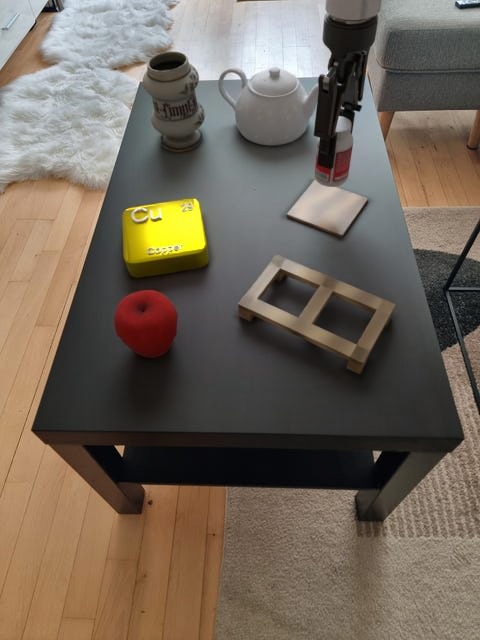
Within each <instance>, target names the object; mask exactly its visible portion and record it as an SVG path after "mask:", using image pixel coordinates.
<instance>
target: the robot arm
mask: <svg viewBox="0 0 480 640" xmlns="http://www.w3.org/2000/svg"><path fill="white" fill-rule="evenodd" d="M382 2H383V0H325V5H324V6H325V7H324V8H325V14H324V16H323V26H322V38H321V39H322V43H323V45H324V46H325V47H326V48H327V49H328V50H329V51H330V57H329V59H328V63H327V73H326V74H324V73H320V74H319V75H318V78H317V84H318V88H319V92H318V101H317V105H316V108H315V119H314V127H313V136H314V137H316V138H318V137H319V138H320V142H319V152H318V163H317V165H319V166H322V167H325V168H328V169H332V168H333V165H334V157H335V149H336V141H337V134H336V133H335V131H336V127H337V122H338V118H339V116H342V117H346V118H348V119H349V120H350V121H351V132H350V133H351V134H352V135H353V131H354V125H355V117H356V112H357V113H360V112H361V110H362V109H363V104H359V102H360V103H361V102H362V101H363V96H364V90H365V83H366V76H367V69H368V60H369V55H370V50H371V47H372V46H373V45H374V43H375V41H376V36H377V31H378V24H379V14H380V12H381V10H382Z"/></svg>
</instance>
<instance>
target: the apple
mask: <svg viewBox="0 0 480 640" xmlns="http://www.w3.org/2000/svg"><path fill="white" fill-rule="evenodd" d="M113 316H114V317H113V325H114V329H115V334H116V336H118V338H119V339H120V340H121V341H122V342H123V343H124V344H125V345H126V346H127V347H128V348H129V349H130V350H132V351H133V352H134V353H136V354H137V355H139V356H140V357H141V356H142V357H145V358H157V357H160V356H163V355H165V354H166V353H167V352H168V351H169V350H170V349H171V347H172V345H173V343H174V341H175V338H176V337H177V330H178V319H179V318H178V317H179V316H178V312H177V308H176V306H175V305H174V304H173V302H172V301H171V300H170V299H169V298H168V297H167V296H166V295H165V294H164V293H162V292H159V291H156V290H154V289H147V290H146V289H145V290H139V291H135V292H131V293H130V294H128V295H126V296H125V297H124V298H122V299H121V300H120V301H119V303H118V305H117V306H116V308H115V312H114V315H113Z"/></svg>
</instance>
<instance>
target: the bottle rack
mask: <svg viewBox="0 0 480 640" xmlns="http://www.w3.org/2000/svg"><path fill="white" fill-rule="evenodd" d="M284 276H286V277H289V278H291V279H293V280H296V281H298V282H301V283H303V284H305V285H308V286H310V287H312V288H314V289H317V290H316V291H315V292H314V294H313V295H312V297H311V298H310V300H309V301H308V303H307V304H306V305H305V307H304V309H303V310H302V312H301V313H300V314H299V316H296V315H294V314H292V313H290V312H287V311H285V310H284V309H283V310H282V309H280V308H278V307H276V306H274V305H272V304H270V303H267V302H265V301H263V300H261V299H262V298H263V296H264V295H265V294H266V293H267V291H268V290H269V288H270V287H271V286H272V284H273V283H274V282H275V281H277V282H281V281H282V280H283V278H284ZM332 297H336V298H337V299H340V300H342V301H345V302H347V303H349V304H351V305H354V306H356V307H359V308H360V309H363V310H366V311H367V312H370V313H373V316H372V317H371V319H370V321H369V323H368V324H367V326H366V328H365V329H364V331H363V332H362V335H361V336H360V338H359V340H358V342H357V343H354V342H352V341H350V340H348V339H345V338H343V337H341V336H339V335H337V334H335V333H332V332H330V331H328V330H326V329H324V328H321V327H320V326H318V325H315V323H316V321H317V320H318V318H319V317H320V315H321V314H322V312H323V311H324V309H325V308H326V306H327V305H328V303H329V302H330V300H331V298H332ZM237 305H238V317H240V318H242V319H244V320H246V321H248V322H251V321H252V320H253V318H254V317H256V318H259V319H261V320H262V321H265V322H267V323H269V324H270V325H273V326H276V327H277V328H279V329H282V330H284V331H286V332H288V333H290V334H292V335H294V336H296V337H298V338H300V339H301V340H302V339H303V340H304V341H306V342H308V343H311V344H313V345H315V346H317V347H319V348H322V349H323V350H325V351H328V352H330V353H332V354H334V355H336V356H338V357H340V358H341V359H345V360H347V366H346V369H348V370H350V371H351V372H354V373H356V374H358V375H361V373H362V372H363V370H364V368H365V366H366V364H367V362H368V359H369V356H370V354H371V352H372V350H373V348H374V347H375V345H376V344H377V341H378V339H379V338H380V336H381V334H382V332H383V330H384V329H385V328H387V326H388V325H389V323H390V321H391V319H392V318H393V314H394V311H395V309H396V306H397V304H396V303H393V302H391V301H389V300H386V299H384V298H381V297H379V296H376V295H374V294H372V293H370V292H367V291H365V290H362V289H360V288H357V287H355V286H353V285H350V284H348V283H346V282H343V281H341V280H338V279H336V278H334V277H331V276H329V275H327V274H324V273H321V272H319V271H317V270H315V269H312V268H310V267H307V266H305V265H302V264H300V263H298V262H296V261H293V260H290V259H288V258H285V257H283V256H281V255H279V254H275V256H274V257H273V258H272V260H271V261H270V262H269V264H267V266H266V267H265V269H264V270H263V272H261V274H260V275H259V276H258V277H257V279H256V280H255V282H254V283H253V284H252V285H251V287H250V288H249V289H248V290H247V292H246V293H245V294H244V295H243V297H242V298H241V300H240V301H239V302H238V303H237Z"/></svg>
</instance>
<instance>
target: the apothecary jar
mask: <svg viewBox="0 0 480 640" xmlns="http://www.w3.org/2000/svg"><path fill="white" fill-rule="evenodd" d="M146 68H147V69H146V71H145V72H144V74H143V77H142V86H143V89H144V90H145V92H146V93H147V94H148V95H149V96H150V97H151V100H152V105H153V110H152V112H151V114H150V122H151V125H152V127H153V128H154V129H155V131H156V132H158V133H159V134H161V136H160V139H161V142H160V144H161V146H162V147H163V148H164V149H165V150H168V151H171V152H174V153H175V152H176V153H181V152H187V151H190V150H192V149H195V148H196V147H198V146H199V145H200V144H201V143H202V142H203V138H204V137H203V133H202V131H201V130H200V129H199V128H201V126H202V125H203V123H204V122H205V117H206V116H205V114H206V113H205V110H204V109H205V108H204V107H203V105H201V104H200V102H199V101H198V100H197V94H196V88H197V86H198V84H199V82H200V76H199V72H198V70H197V69H196V68H195V66H193V65H192V64H191V63H190V62H189V58H188V56H187V55H186V54H185V53H183V52H181V51H172V50H170V51H161V52H159V53H156V54H155V55H152V56H151V57H150V58H149V59H148V61H147V63H146Z"/></svg>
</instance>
